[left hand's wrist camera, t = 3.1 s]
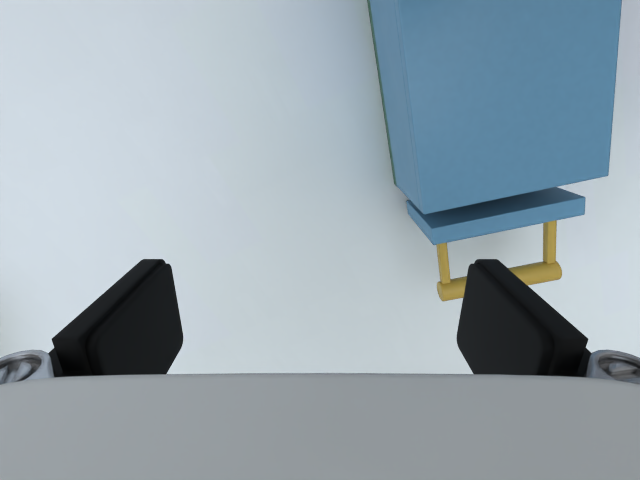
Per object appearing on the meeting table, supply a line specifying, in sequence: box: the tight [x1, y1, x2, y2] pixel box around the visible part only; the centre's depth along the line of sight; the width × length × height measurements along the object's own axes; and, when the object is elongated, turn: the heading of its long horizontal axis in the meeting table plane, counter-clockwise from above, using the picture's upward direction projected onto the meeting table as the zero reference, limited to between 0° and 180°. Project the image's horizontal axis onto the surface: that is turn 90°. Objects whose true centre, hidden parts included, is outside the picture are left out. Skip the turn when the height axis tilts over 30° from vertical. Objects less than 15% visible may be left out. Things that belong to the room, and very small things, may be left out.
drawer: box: [406, 187, 585, 301], centre depth 24 cm, size 24×10×7 cm, turn 13°
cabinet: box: [367, 0, 622, 214], centre depth 22 cm, size 20×11×9 cm, turn 13°
